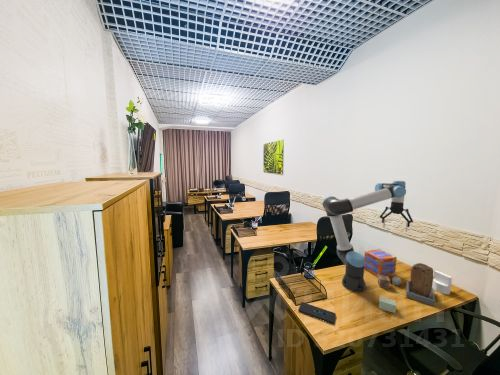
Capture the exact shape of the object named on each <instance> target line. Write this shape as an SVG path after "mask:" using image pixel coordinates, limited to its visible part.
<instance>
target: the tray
mask: <svg viewBox="0 0 500 375" xmlns="http://www.w3.org/2000/svg"><path fill="white" fill-rule="evenodd" d="M405 286H406V289H405V292H406V293H405V296H406V297H405V298H408V299H411V300H415V301H418V302H420V303H423V304H426V305H430V306H433V307H435V306H436V298H435V292H434V291H435V290H434V289H433V288H432V290H431V293H430V295H429V296H428V297H423V296H420V295H417V294H416V293H414V292H413V291H412V290H411V289H410V280H408V279H407V280H406V285H405Z"/></svg>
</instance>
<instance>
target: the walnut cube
mask: <svg viewBox="0 0 500 375" xmlns="http://www.w3.org/2000/svg"><path fill="white" fill-rule="evenodd" d="M377 283H378V285H379V287H380V288H383V289H384V288H385V289H389V290H390V289H391V288H390V287H391V279H390V277H388V276H382V275H378V277H377Z"/></svg>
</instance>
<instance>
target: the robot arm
mask: <svg viewBox="0 0 500 375" xmlns="http://www.w3.org/2000/svg"><path fill="white" fill-rule="evenodd" d="M406 184H407V183H406V181H405V180H393V181H392V182H391V183H384V182H381V183H376V184H375V185H374V191H372V192H368V193H366V194H363V195H360V196H355V197H352V198H344V199H339V198H337V197H335V196H332V195H329V196H326V197H324V199H323V201H322V208H323V209H324V211H325V213H326V216H327V217H328V218H329V219H330V223H331V226H332V229H333V233H334V236H335V239H336V244H337V245H336V255H337V257H338V258H339V259H340V260H341V262H342V263H343V264H344V265H345V273H344V275H343V277H342V279H341V284H342V286H343V287H344V288H346V289H347V290H349V291H351V292H355V293H362V292H364V291H366V288H367V287H366V282H365V279H364V275H365V274H364V273H365V269H364V265H365V258H364V255H363V254H361V253H359V252H357V251H355V250H354V246H353V244H352V243H351V242H350V241H349V237H348V233H347V229H346V227H345V222H344V219H343V216H342V215H345V214H350V213H353V212H354V210H357V209H361V208H364V207H366V206H371V205H373V204H377V203H380V202H383V201H386V200H390V199H391V202H390V207H389V206H386V207H385V209H384V210H383V212H382V213H381V214H380V215H379V218H380V219H381V223H382V224H383V225H382V226H383V228H385V227H386V218H387V217H388V216H390V215H391V214H395V215H401V217H403V219H404V220H405V221H406V224H405V232H408V228H410V224H411V223H414V220H413V218H412V216H411V214H410V212H409V208H404V206H405V205H404V202H405V196H406V195H407V194H406V193H407V189H406ZM388 210H390V211H389V212H388V213H387V211H388ZM403 212H405V213H406V215H407V216H406V215H405V213H403ZM385 213H386V214H385Z"/></svg>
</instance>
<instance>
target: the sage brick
mask: <svg viewBox="0 0 500 375" xmlns="http://www.w3.org/2000/svg"><path fill="white" fill-rule="evenodd" d="M378 302H379V303H378V306H379V307H378V308H379V309H381V310H383V311H387V312H390V313H393V314H396V313H397V312H396V311H397V303H396V300H394V299H391V298H387V297H383V296H379V301H378Z"/></svg>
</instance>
